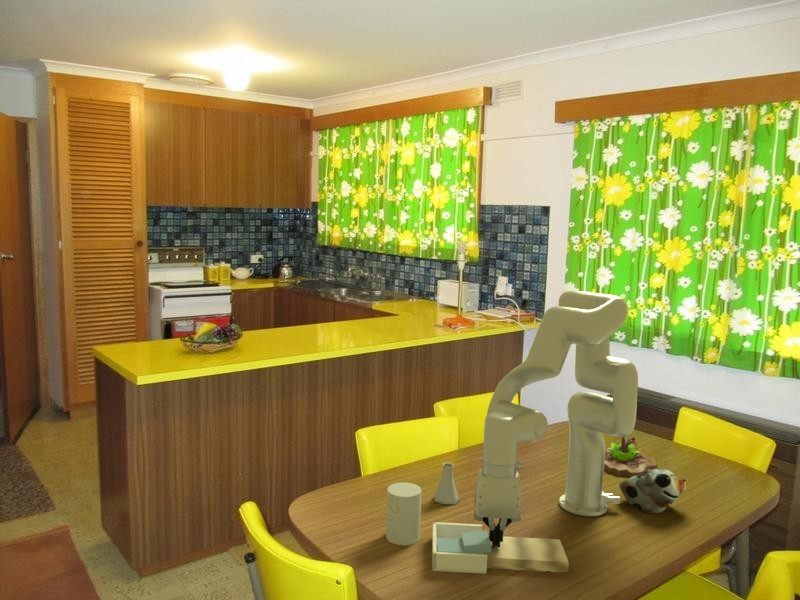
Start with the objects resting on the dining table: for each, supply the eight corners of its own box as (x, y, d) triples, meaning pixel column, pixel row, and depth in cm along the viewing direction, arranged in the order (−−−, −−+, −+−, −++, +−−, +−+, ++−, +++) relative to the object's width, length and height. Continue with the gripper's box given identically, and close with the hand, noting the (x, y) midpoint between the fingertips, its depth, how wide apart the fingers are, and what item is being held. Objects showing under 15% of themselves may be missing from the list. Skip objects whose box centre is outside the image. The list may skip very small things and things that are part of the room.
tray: (481, 540, 155) (482, 524, 155) (486, 573, 141) (487, 556, 140) (432, 537, 156) (432, 522, 155) (432, 570, 141) (433, 553, 141)
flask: (458, 507, 173) (459, 471, 172) (431, 503, 174) (432, 468, 173) (461, 495, 180) (462, 461, 179) (435, 492, 181) (436, 458, 180)
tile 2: (487, 539, 151) (486, 530, 150) (491, 552, 145) (490, 543, 144) (462, 541, 151) (461, 533, 150) (464, 555, 145) (464, 545, 144)
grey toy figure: (653, 492, 186) (681, 458, 180) (673, 526, 176) (703, 491, 170) (610, 481, 182) (637, 446, 176) (627, 515, 172) (657, 479, 166)
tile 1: (461, 547, 150) (461, 538, 150) (464, 561, 145) (464, 551, 144) (435, 546, 150) (436, 537, 150) (437, 560, 144) (437, 551, 144)
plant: (611, 449, 221) (613, 418, 219) (665, 467, 206) (669, 434, 205) (577, 462, 208) (579, 429, 207) (632, 483, 193) (635, 447, 192)
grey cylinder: (385, 528, 159) (386, 482, 158) (417, 528, 160) (419, 482, 159) (387, 545, 151) (388, 497, 150) (421, 545, 152) (423, 496, 151)
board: (559, 549, 152) (559, 539, 152) (567, 572, 142) (568, 562, 142) (482, 545, 153) (483, 535, 153) (485, 568, 143) (486, 557, 143)
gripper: (530, 462, 148) (525, 537, 151) (465, 459, 149) (461, 534, 151) (535, 475, 141) (531, 554, 144) (467, 473, 141) (463, 551, 144)
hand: (495, 544), depth 147 cm, fingers closed
